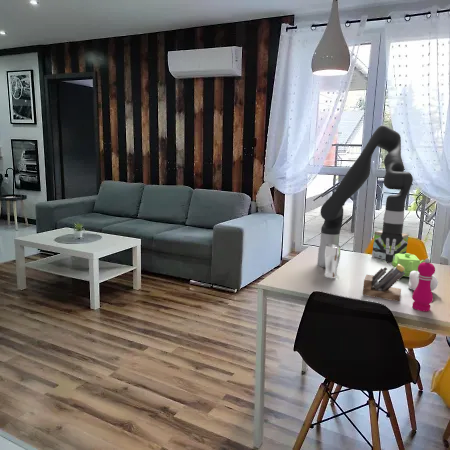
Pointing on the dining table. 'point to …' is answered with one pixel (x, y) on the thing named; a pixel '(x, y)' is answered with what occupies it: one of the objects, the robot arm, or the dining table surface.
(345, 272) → the dining table surface
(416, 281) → the white knot
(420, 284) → the pepper mill
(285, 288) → the dining table surface
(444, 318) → the dining table surface
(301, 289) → the dining table surface
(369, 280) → the knife block
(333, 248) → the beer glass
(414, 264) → the kettle
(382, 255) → the tea box
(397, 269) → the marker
